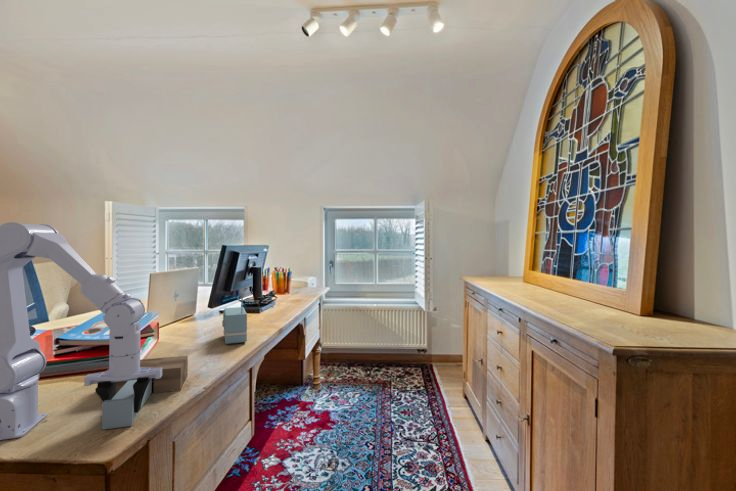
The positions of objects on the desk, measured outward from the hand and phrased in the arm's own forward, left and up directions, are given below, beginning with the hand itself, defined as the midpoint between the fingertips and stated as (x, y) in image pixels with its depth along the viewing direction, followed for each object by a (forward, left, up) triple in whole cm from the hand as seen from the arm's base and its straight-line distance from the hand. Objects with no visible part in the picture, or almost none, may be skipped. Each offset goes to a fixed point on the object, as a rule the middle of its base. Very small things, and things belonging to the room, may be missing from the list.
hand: (124, 412), depth 77 cm
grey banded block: (+59, -20, -2) cm, 63 cm away
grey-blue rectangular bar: (+4, 0, -1) cm, 4 cm away
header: (+18, 0, -1) cm, 18 cm away
